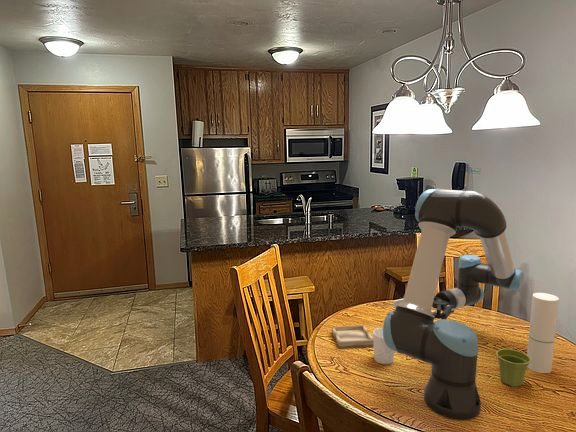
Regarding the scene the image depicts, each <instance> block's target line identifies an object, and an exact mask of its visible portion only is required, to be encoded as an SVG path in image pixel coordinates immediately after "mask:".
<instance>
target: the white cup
mask: <svg viewBox="0 0 576 432" xmlns="http://www.w3.org/2000/svg"><path fill="white" fill-rule="evenodd" d="M372 337H373V354H374V355H373V359H374V361H375V362H376V363H378V364H382V365H390V364H393V363H394V360H395V352H396V351H394V350H392V349H390V348H389V347H388V346H387V345H386V343H385V341H384V337H383V327H378V328H375V329H373V330H372Z"/></svg>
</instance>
